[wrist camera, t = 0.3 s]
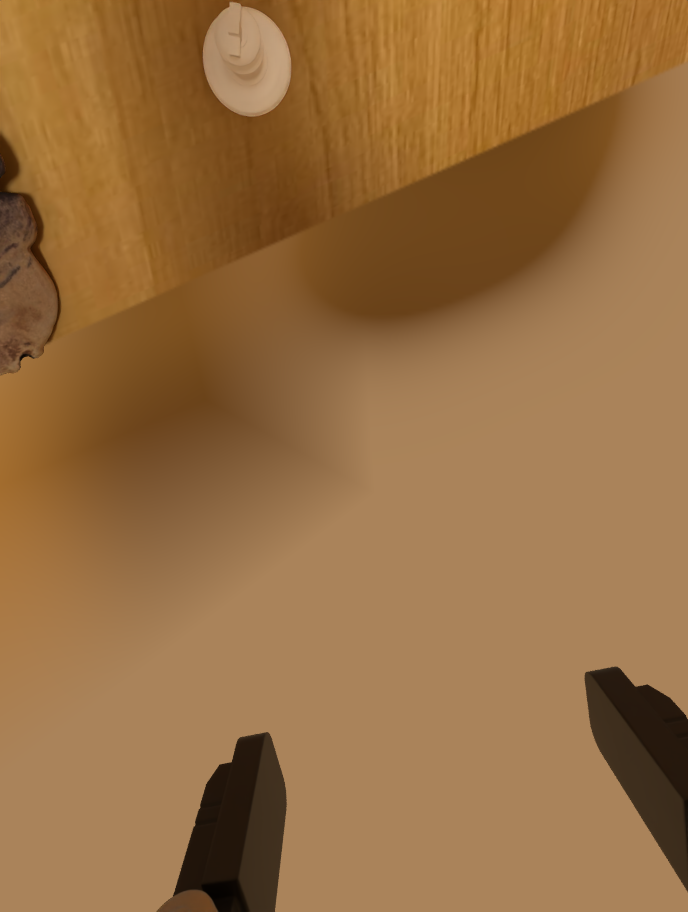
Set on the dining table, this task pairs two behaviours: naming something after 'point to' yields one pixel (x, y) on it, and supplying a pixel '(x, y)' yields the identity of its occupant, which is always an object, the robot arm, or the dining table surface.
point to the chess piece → (246, 61)
